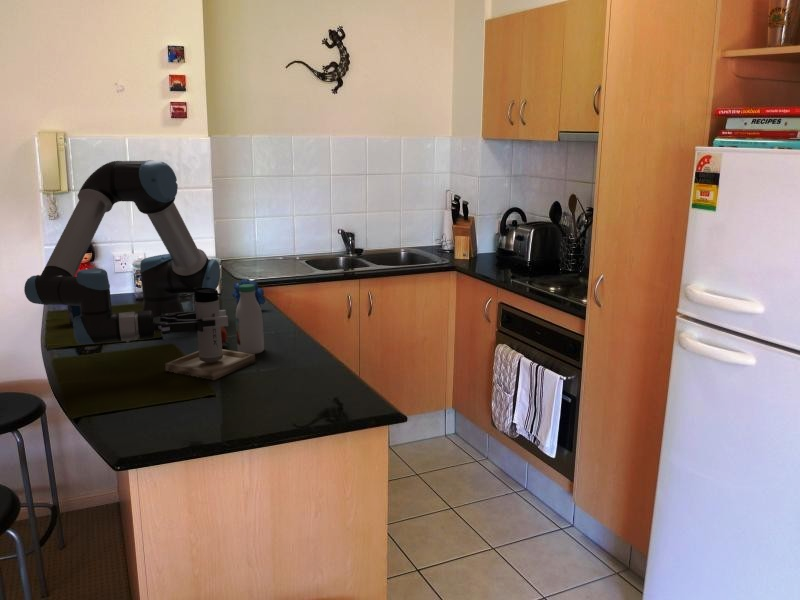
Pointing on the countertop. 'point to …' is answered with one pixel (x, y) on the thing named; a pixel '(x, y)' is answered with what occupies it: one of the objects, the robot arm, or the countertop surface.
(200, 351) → the travel mug
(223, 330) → the pomegranate
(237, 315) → the milk bottle
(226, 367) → the wood tray
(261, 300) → the grapes
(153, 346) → the countertop surface
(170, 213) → the robot arm
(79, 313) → the soda can
